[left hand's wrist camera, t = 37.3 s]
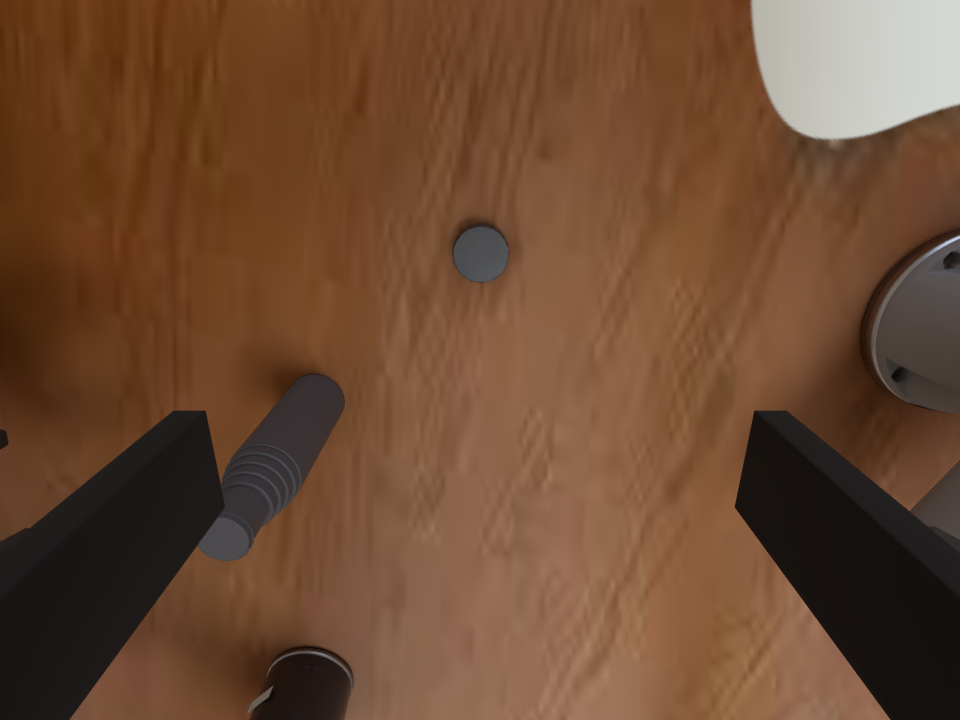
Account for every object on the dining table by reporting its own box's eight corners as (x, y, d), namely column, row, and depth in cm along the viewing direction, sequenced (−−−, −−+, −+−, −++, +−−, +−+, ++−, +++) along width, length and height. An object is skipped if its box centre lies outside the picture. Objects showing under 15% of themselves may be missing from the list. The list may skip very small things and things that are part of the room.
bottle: (279, 407, 47) (163, 550, 30) (304, 364, 46) (196, 488, 28) (329, 433, 48) (244, 587, 31) (354, 392, 47) (280, 529, 29)
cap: (499, 283, 43) (499, 289, 41) (447, 268, 43) (446, 274, 41) (514, 231, 42) (516, 235, 40) (461, 216, 41) (460, 218, 39)
